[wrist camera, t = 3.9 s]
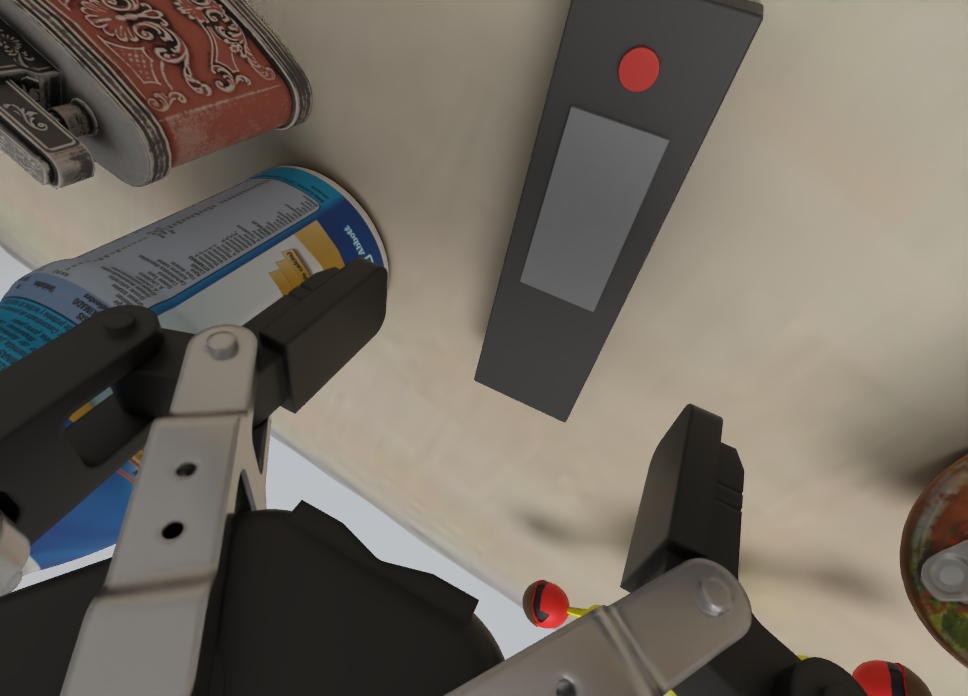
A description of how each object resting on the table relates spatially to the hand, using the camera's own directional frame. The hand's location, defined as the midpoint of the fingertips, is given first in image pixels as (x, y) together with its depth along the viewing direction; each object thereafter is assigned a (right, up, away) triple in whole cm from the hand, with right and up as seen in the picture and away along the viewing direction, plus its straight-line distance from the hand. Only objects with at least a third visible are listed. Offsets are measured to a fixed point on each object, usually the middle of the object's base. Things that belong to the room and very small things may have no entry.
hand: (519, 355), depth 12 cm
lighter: (-11, +13, +8) cm, 18 cm away
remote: (+3, +5, +6) cm, 8 cm away
